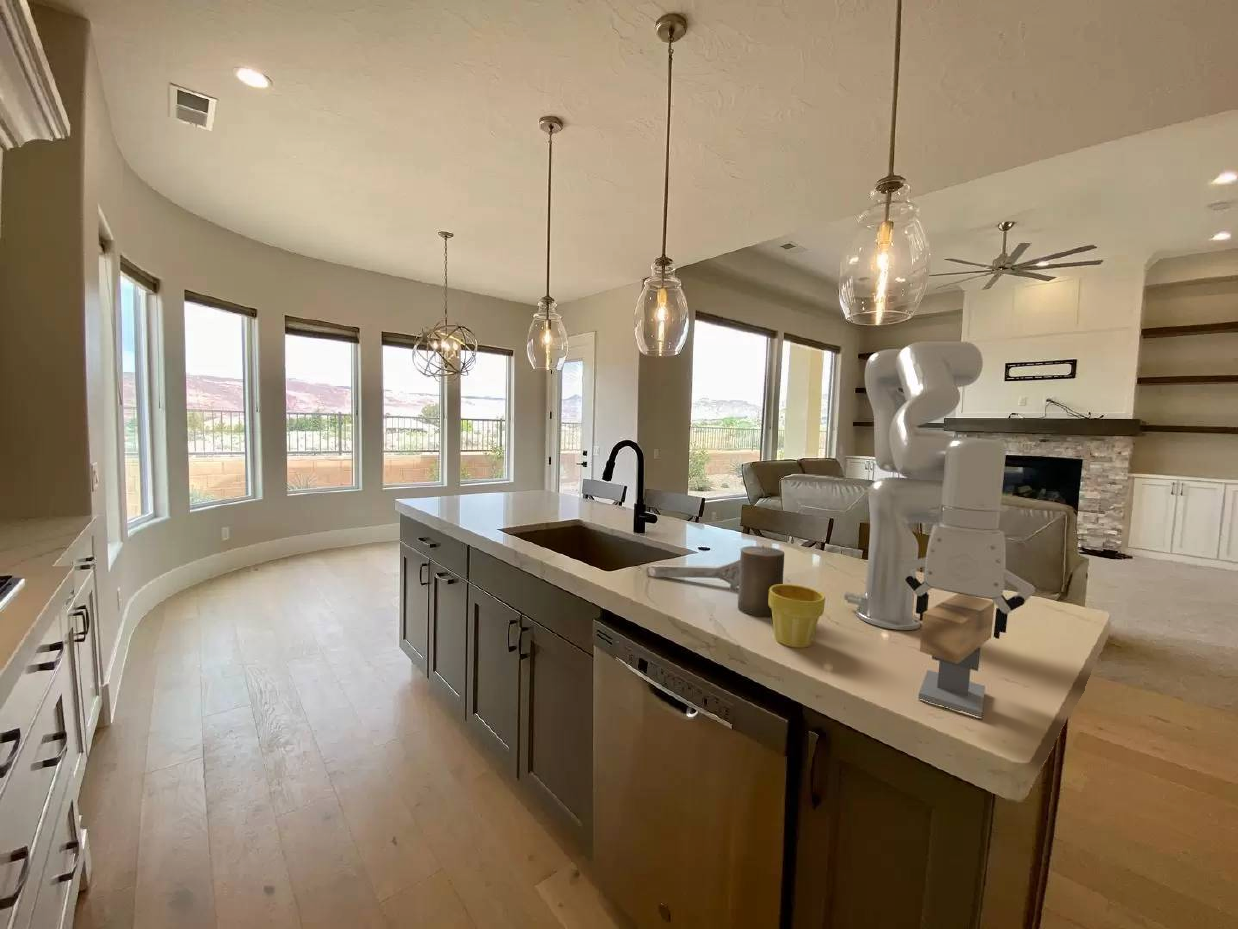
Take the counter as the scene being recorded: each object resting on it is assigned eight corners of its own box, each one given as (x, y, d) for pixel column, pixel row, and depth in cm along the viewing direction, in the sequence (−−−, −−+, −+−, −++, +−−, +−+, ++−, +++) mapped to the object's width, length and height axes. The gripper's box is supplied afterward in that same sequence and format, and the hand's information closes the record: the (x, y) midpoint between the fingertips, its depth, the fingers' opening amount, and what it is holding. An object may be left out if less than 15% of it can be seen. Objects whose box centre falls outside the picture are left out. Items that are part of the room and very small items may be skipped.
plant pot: (833, 646, 98) (837, 596, 98) (795, 656, 93) (799, 604, 92) (791, 626, 107) (794, 581, 106) (754, 635, 102) (757, 587, 101)
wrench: (648, 584, 141) (760, 588, 131) (646, 586, 140) (759, 590, 129) (646, 555, 141) (758, 557, 130) (644, 557, 140) (757, 559, 129)
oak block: (919, 651, 77) (923, 612, 77) (956, 627, 87) (959, 593, 87) (957, 664, 73) (961, 623, 73) (991, 637, 84) (994, 601, 83)
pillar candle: (786, 618, 112) (791, 550, 111) (741, 616, 112) (745, 548, 111) (774, 603, 122) (778, 541, 121) (733, 601, 122) (737, 539, 121)
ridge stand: (918, 700, 79) (923, 647, 79) (926, 676, 87) (931, 628, 87) (981, 720, 75) (986, 663, 74) (984, 693, 82) (989, 642, 82)
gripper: (901, 514, 81) (892, 619, 82) (1042, 531, 71) (1029, 651, 72) (908, 509, 87) (900, 607, 88) (1040, 524, 76) (1028, 635, 78)
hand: (958, 627), depth 80 cm, fingers open, 9 cm apart
